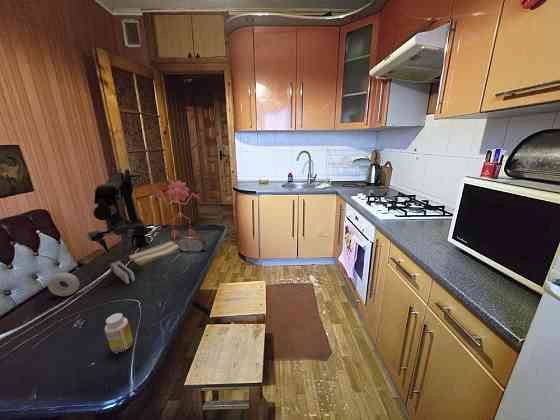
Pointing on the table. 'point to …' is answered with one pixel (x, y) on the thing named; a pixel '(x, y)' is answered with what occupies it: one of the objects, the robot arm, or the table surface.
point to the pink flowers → (178, 193)
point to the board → (154, 253)
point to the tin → (191, 243)
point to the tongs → (122, 271)
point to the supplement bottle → (118, 333)
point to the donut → (66, 277)
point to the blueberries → (79, 323)
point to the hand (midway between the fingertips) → (120, 249)
